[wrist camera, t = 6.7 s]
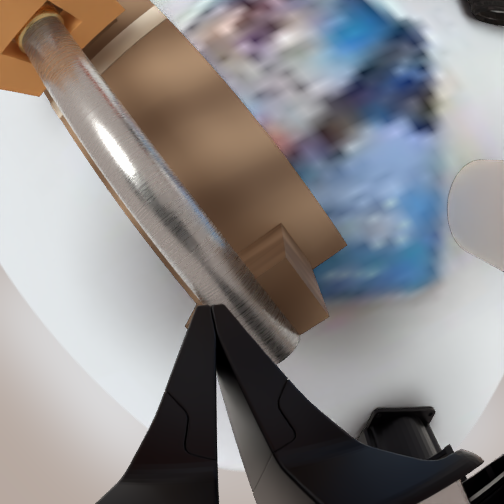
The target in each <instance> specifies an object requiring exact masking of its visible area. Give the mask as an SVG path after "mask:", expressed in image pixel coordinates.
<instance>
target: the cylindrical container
mask: <svg viewBox="0 0 504 504" xmlns="http://www.w3.org/2000/svg"><path fill="white" fill-rule="evenodd" d="M447 208H448V222H449V226H450V230H451V233H452V235H453V237H454V239H455V241H456V242H457V243H458V245H459V246H460V247H461V248H462V249H463V250H465V251H466V252H468V253H470V254H472V255H474V256H475V257H477V258H479V259H481V260H483V261H485V262H487V263H489V264H490V265H492V266H494V267H496V268H498V269H499V270H501V271H503V272H504V160H476V161H472V162H471V163H469V164H467V165H466V166H465V167H463V168H462V169H461V171H460V172H459V173H458V174H457V176H456V178H455V180H454V182H453V184H452V186H451V190H450V193H449V198H448V205H447Z"/></svg>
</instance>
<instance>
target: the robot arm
mask: <svg viewBox="0 0 504 504" xmlns="http://www.w3.org/2000/svg"><path fill="white" fill-rule="evenodd" d="M216 374H217V378H218V382H219V385H220V389H221V392H222V396H223V400H224V403H225V406H226V410H227V413H228V417H229V420H230V423H231V427H232V430H233V433H234V437H235V440H236V443H237V446H238V449H239V453H240V456H241V459H242V462H243V465H244V468H245V471H246V474H247V477H248V480H249V483H250V486H251V488H252V491H253V495H254V498H255V500H256V503H257V504H504V454H503V455H501V456H500V457H498V458H497V459H495V460H494V461H493V462H491V463H490V464H488V465H487V466H486V467H484V468H483V469H481V470H480V471H478V472H477V473H476V474H474V475H473V476H471V477H470V478H468V479H467V478H466V476H465V475H467V474H468V473H470V472H471V471H473V470H474V469H475V468H477V467H478V466H480V465H481V464H482V463H483V462H484V461H483V460H482V459H481V458H480V457H479V456H478V455H476V454H474V453H472V452H469V451H466V450H463V449H460V450H458V451H456V452H454V451H453V449H452V448H451V446H450V444H449V445H448V446H446V447H444V449H443V450H441V448H440V446H439V444H438V442H437V440H436V438H435V436H434V434H433V432H432V430H431V428H430V426H429V423H430V421H431V420H432V418H433V416H434V414H435V410H434V408H432V407H430V408H404V409H377V410H375V411H374V412H373V413H372V415H371V417H370V420H369V422H368V424H367V426H366V428H365V429H364V430H363V431H362V433H361V435H360V437H359V439H358V440H356V439H354V438H353V437H352V436H350V435H349V434H348V433H347V432H345V431H344V430H343V429H342V428H340V427H339V426H338V425H337V424H336V423H334V422H333V421H332V420H331V419H329V418H328V417H327V416H326V415H325V414H323V413H322V412H321V411H320V410H319V409H318V408H317V407H315V406H314V405H313V404H312V403H311V402H310V401H309V400H308V399H307V398H306V397H305V396H304V395H303V394H302V393H301V392H300V391H299V390H298V389H297V388H296V387H295V386H294V385H293V383H292V382H291V381H290V380H287V379H288V378H287V377H286V376H285V375H284V373H283V372H282V371H281V370H280V369H279V368H278V367H277V365H276V364H275V363H274V362H273V361H272V360H271V359H270V357H269V356H268V355H267V354H266V353H265V352H264V351H263V349H262V348H261V347H260V346H259V345H258V344H257V342H256V341H255V340H254V339H253V338H252V336H251V335H250V334H249V333H248V332H247V331H246V329H245V328H244V327H243V326H242V325H241V323H240V322H239V321H238V320H237V319H236V317H235V316H234V315H233V314H232V313H231V311H230V310H229V309H228V308H227V307H226V305H224V304H214V305H211V307H210V305H198V306H197V307H196V308H195V311H194V314H193V316H192V319H191V321H190V324H189V327H188V329H187V332H186V335H185V337H184V340H183V343H182V345H181V348H180V351H179V353H178V356H177V359H176V361H175V364H174V367H173V370H172V372H171V375H170V378H169V381H168V383H167V386H166V389H165V392H164V394H163V397H162V400H161V402H160V405H159V407H158V410H157V412H156V415H155V417H154V419H153V421H152V423H151V425H150V428H149V430H148V432H147V434H146V435H145V438H144V439H143V441H142V443H141V445H140V447H139V449H138V451H137V452H136V454H135V456H134V458H133V460H132V462H131V464H130V465H129V467H128V469H127V471H126V472H125V474H124V475H123V476H122V478H121V479H120V480H119V481H118V483H117V484H116V485H115V486H114V487H112V488H111V489H110V491H108V492H107V493H106V494H105V495H104V496H103V497H102V498H101V499H100V500H99V501H98V502H96V503H95V504H219V492H218V464H217V408H216ZM378 414H379V415H378Z"/></svg>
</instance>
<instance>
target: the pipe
mask: <svg viewBox="0 0 504 504" xmlns="http://www.w3.org/2000/svg"><path fill="white" fill-rule="evenodd" d="M14 39H15V41H16V43H17V44H18V46H19V48H20V50H21V51H22V52H23V53H25V54H27V56H28V58H29V60H30V61H31V63H32V65H33V66H34V68H35V70H36V72H37V73H38V75H39V77H40V78H41V80H42V82H43V83H44V85H45V87H46V88H47V90H48V92H49V93H50V95H51V97H52V98H53V100H54V101H55V103H56V105H57V106H58V108H59V109H60V111H61V113H62V114H63V116H64V117H65V119H66V120H67V122H68V123H69V125H70V127H71V128H72V130H73V131H74V133H75V134H76V136H77V137H78V139H79V140H80V142H81V143H82V145H83V146H84V148H85V149H86V151H87V152H88V154H89V155H90V157H91V158H92V159H93V161H94V162H95V164H96V165H97V167H98V168H99V170H100V171H101V172H102V174H103V175H104V177H105V178H106V180H107V181H108V182H109V184H110V185H111V187H112V188H113V189H114V191H115V192H116V193H117V195H118V196H119V198H120V199H121V200H122V202H123V203H124V204H125V206H126V207H127V209H128V210H129V211H130V213H131V214H132V215H133V217H134V218H135V219H136V221H137V222H138V223H139V225H140V226H141V227H142V229H143V230H144V231H145V233H146V234H147V235H148V236H149V238H150V239H151V240H152V242H153V243H154V244H155V246H156V247H157V248H158V249H159V251H160V252H161V253H162V254H163V256H164V257H165V258H166V260H167V261H168V262H169V263H170V265H171V266H172V267H173V268H174V270H175V271H176V272H177V273H178V275H179V276H180V277H181V278H182V279H183V281H184V282H185V283H186V284H187V286H188V287H189V288H190V289H191V290H192V292H193V293H194V294H195V295H196V296H197V298H198V299H199V300H200V301H201V302H202V304H203V305H210V307H211V305H214V304H224V305H226V307H227V308H228V309H229V310H230V311H231V313H232V314H233V315H234V316H235V317H236V319H237V320H238V321H239V322H240V323H241V325H242V326H243V327H244V328H245V329H246V331H247V332H248V333H249V334H250V335H251V336H252V338H253V339H254V340H255V341H256V342H257V344H258V345H259V346H260V347H261V348H262V349H263V351H264V352H265V353H266V354H267V355H268V356H269V357H270V359H271V360H272V361H273V362H274V363H275V364H278V363H280V362H281V361H283V360H284V359H285V358H287V357H288V356H289V355H290V354H291V353H292V352H293V350H294V349H295V348H296V346H297V345H298V343H299V340H300V335H299V333H298V332H297V331H296V330H295V328H294V327H293V326H292V325H291V323H290V322H289V321H288V319H287V318H286V317H285V316H284V314H283V313H282V312H281V311H280V309H279V308H278V307H277V306H276V304H275V303H274V302H273V301H272V299H271V298H270V297H269V295H268V294H267V293H266V292H265V290H264V289H263V288H262V287H261V285H260V284H259V283H258V282H257V280H256V279H255V276H254V275H253V274H252V272H251V271H250V270H249V269H248V267H247V266H246V265H245V263H244V262H243V261H242V260H241V258H240V257H239V256H238V255H237V253H236V252H235V251H234V249H233V248H232V247H231V246H230V244H229V243H228V242H227V240H226V239H225V238H224V237H223V235H222V234H221V233H220V231H219V230H218V229H217V228H216V226H215V225H214V224H213V222H212V221H211V220H210V218H209V217H208V216H207V215H206V213H205V212H204V211H203V209H202V208H201V207H200V206H199V204H198V203H197V202H196V200H195V199H194V198H193V196H192V195H191V194H190V193H189V191H188V190H187V189H186V187H185V186H184V185H183V183H182V182H181V181H180V180H179V178H178V177H177V176H176V174H175V173H174V172H173V170H172V169H171V168H170V166H169V165H168V164H167V162H166V161H165V160H164V159H163V157H162V156H161V155H160V153H159V152H158V151H157V149H156V148H155V147H154V145H153V144H152V143H151V141H150V140H149V139H148V137H147V136H146V135H145V134H144V132H143V131H142V130H141V128H140V127H139V126H138V124H137V123H136V122H135V120H134V119H133V118H132V116H131V115H130V114H129V112H128V111H127V110H126V108H125V107H124V106H123V104H122V103H121V102H120V100H119V99H118V98H117V96H116V95H115V94H114V92H113V91H112V90H111V88H110V87H109V86H108V84H107V83H106V82H105V80H104V79H103V78H102V76H101V75H100V74H99V72H98V71H97V69H96V68H95V67H94V65H93V64H92V63H91V61H90V60H89V59H88V57H87V56H86V55H85V53H84V52H83V51H82V49H81V48H80V46H79V45H78V44H77V42H76V41H75V40H74V38H73V37H72V36H71V34H70V33H69V31H68V30H67V29H66V27H65V26H64V20H63V18H62V16H61V15H60V14H59V12H58V11H57V10H56V8H55V7H54V6H53V4H52V3H51V2H50V1H48V0H47V1H46V2H45V3H44V4H43V5H42V6H41V7H40V8H39V9H38V10H37V11H36V12H35V14H34V15H33V16H32V17H31V18H30V19H29V20H28V21H27V23H26V24H25V25H24V26H23V27H22V28H21V30H20V31H19V32H18V33H17V34H16V36H15V37H14Z"/></svg>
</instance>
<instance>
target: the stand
mask: <svg viewBox="0 0 504 504" xmlns="http://www.w3.org/2000/svg"><path fill="white" fill-rule="evenodd" d="M117 1H118V2H119V4H120V5H121V6H122V7H123V8H124V9H125V11H124V12H123V13H121V14H120V15H119V16H118V17H117V18H115V19H114V20H113V21H112V22H111V23H110V24H109V25H107V26H106V27H105V28H104V29H103V30H102V31H101V32H100V33H99V34H97V35H96V36H95V37H94V38H93V39H92V40H91V41H90V42H89V43H88V44H87V45H86V46H85V47H84V48H83V49H82V51H83V52H84V53H85V55H86V56H87V57H88V59H89V60H90V61H91V63H92V64H93V65H94V67H95V68H96V69H97V71H98V72H99V74H100V75H101V76H102V78H103V79H104V80H105V82H106V83H107V84H108V86H109V87H110V88H111V90H112V91H113V92H114V94H115V95H116V96H117V98H118V99H119V100H120V102H121V103H122V104H123V106H124V107H125V108H126V110H127V111H128V112H129V114H130V115H131V116H132V118H133V119H134V120H135V122H136V123H137V124H138V126H139V127H140V128H141V130H142V131H143V132H144V134H145V135H146V136H147V137H148V139H149V140H150V141H151V143H152V144H153V145H154V147H155V148H156V149H157V151H158V152H159V153H160V155H161V156H162V157H163V159H164V160H165V161H166V162H167V164H168V165H169V166H170V168H171V169H172V170H173V172H174V173H175V174H176V176H177V177H178V178H179V180H180V181H181V182H182V183H183V185H184V186H185V187H186V189H187V190H188V191H189V193H190V194H191V195H192V196H193V198H194V199H195V200H196V202H197V203H198V204H199V206H200V207H201V208H202V209H203V211H204V212H205V213H206V215H207V216H208V217H209V218H210V220H211V221H212V222H213V224H214V225H215V226H216V228H217V229H218V230H219V231H220V233H221V234H222V235H223V237H224V238H225V239H226V240H227V242H228V243H229V244H230V246H231V247H232V248H233V249H234V251H235V252H236V253H237V255H238V256H239V257H240V258H241V260H242V261H243V262H244V263H245V265H246V266H247V267H248V269H249V270H250V271H251V272H252V274H253V275H254V276H255V279H256V280H257V282H258V283H259V284H260V285H261V287H262V288H263V289H264V290H265V292H266V293H267V294H268V295H269V297H270V298H271V299H272V301H273V302H274V303H275V304H276V306H277V307H278V308H279V309H280V311H281V312H282V313H283V314H284V316H285V317H286V318H287V319H288V321H289V322H290V323H291V325H292V326H293V327H294V328H295V330H296V331H297V332H298V333H299V335H301V334H303V333H304V332H306V331H308V330H309V329H311V328H312V327H314V326H315V325H317V324H319V323H320V322H322V321H323V320H325V319H326V318H328V317H329V314H328V311H327V308H326V306H325V303H324V300H323V297H322V294H321V292H320V289H319V286H318V283H317V281H316V278H315V275H314V272H313V269H314V268H316V267H317V266H318V265H320V264H321V263H323V262H324V261H326V260H327V259H328V258H330V257H331V256H333V255H334V254H336V253H337V252H338V251H340V250H341V249H343V248H344V247H345V246H347V244H346V242H345V241H344V239H343V238H342V236H341V235H340V233H339V232H338V230H337V229H336V227H335V226H334V224H333V223H332V221H331V220H330V219H329V217H328V216H327V214H326V213H325V211H324V210H323V208H322V207H321V206H320V204H319V203H318V201H317V200H316V198H315V197H314V196H313V194H312V193H311V191H310V190H309V189H308V187H307V186H306V184H305V183H304V182H303V180H302V179H301V178H300V176H299V175H298V173H297V172H296V171H295V169H294V168H293V167H292V165H291V164H290V163H289V161H288V160H287V159H286V157H285V156H284V155H283V153H282V152H281V151H280V149H279V148H278V147H277V146H276V144H275V143H274V142H273V140H272V139H271V138H270V137H269V135H268V134H267V133H266V131H265V130H264V129H263V128H262V126H261V125H260V124H259V123H258V121H257V120H256V119H255V118H254V116H253V115H252V114H251V113H250V111H249V110H248V109H247V108H246V106H245V105H244V104H243V103H242V102H241V100H240V99H239V98H238V97H237V96H236V94H235V93H234V92H233V91H232V90H231V88H230V87H229V86H228V85H227V84H226V83H225V81H224V80H223V79H222V78H221V77H220V76H219V74H218V73H217V72H216V71H215V70H214V69H213V67H212V66H211V65H210V64H209V63H208V62H207V61H206V60H205V58H204V57H203V56H202V55H201V54H200V53H199V52H198V51H197V50H196V48H195V47H194V46H193V45H192V44H191V43H190V42H189V41H188V40H187V39H186V38H185V36H184V35H183V34H182V33H181V32H180V31H179V30H178V29H177V28H176V27H175V26H174V25H173V24H172V23H171V22H170V21H169V20H168V19H167V17H166V16H165V15H164V14H163V13H162V12H161V11H160V10H159V9H158V8H157V7H156V6H155V5H154V4H153V3H152V2H151V1H150V0H117ZM52 4H53V3H52ZM53 6H54V7H55V8H56V10H57V11H58V12H59V14H60V13H61V12H62V11H63V9H61V8H60V7H58V6H57V5H55V4H53ZM12 41H14V42H16V41H15V39H14V38H13V39H12ZM44 93H45V95H46V96H47V98H48V100H49V101H50V103H51V106H52V108H53V109H54V111H55V112H56V114H57V116H58V117H59V118H60V119H61V121H62V122H63V124H64V125H65V127H66V128H67V130H68V131H69V133H70V135H71V136H72V138H73V139H74V141H75V142H76V144H77V145H78V147H79V148H80V150H81V151H82V153H83V154H84V156H85V157H86V159H87V160H88V162H89V163H90V165H91V166H92V167H93V169H94V170H95V172H96V173H97V175H98V176H99V178H100V179H101V180H102V182H103V183H104V185H105V186H106V188H107V189H108V190H109V192H110V193H111V195H112V196H113V197H114V199H115V200H116V201H117V203H118V204H119V206H120V207H121V208H122V210H123V211H124V212H125V214H126V215H127V216H128V218H129V219H130V220H131V222H132V223H133V224H134V226H135V227H136V228H137V230H138V231H139V232H140V234H141V235H142V236H143V238H144V239H145V240H146V242H147V243H148V244H149V245H150V247H151V248H152V249H153V251H154V252H155V253H156V254H157V256H158V257H159V258H160V260H161V261H162V262H163V263H164V265H165V266H166V267H167V268H168V270H169V271H170V272H171V273H172V275H173V276H174V277H175V278H176V279H177V281H178V282H179V283H180V284H181V286H182V287H183V288H184V289H185V290H186V292H187V293H188V294H189V295H190V297H191V298H192V299H193V300H194V301H195V303H196V304H197V305H196V307H197V306H198V305H203V304H202V302H201V301H200V300H199V299H198V298H197V296H196V295H195V294H194V293H193V292H192V290H191V289H190V288H189V287H188V286H187V284H186V283H185V282H184V281H183V279H182V278H181V277H180V276H179V275H178V273H177V272H176V271H175V270H174V268H173V267H172V266H171V265H170V263H169V262H168V261H167V260H166V258H165V257H164V256H163V254H162V253H161V252H160V251H159V249H158V248H157V247H156V246H155V244H154V243H153V242H152V240H151V239H150V238H149V236H148V235H147V234H146V233H145V231H144V230H143V229H142V227H141V226H140V225H139V223H138V222H137V221H136V219H135V218H134V217H133V215H132V214H131V213H130V211H129V210H128V209H127V207H126V206H125V204H124V203H123V202H122V200H121V199H120V198H119V196H118V195H117V193H116V192H115V191H114V189H113V188H112V187H111V185H110V184H109V182H108V181H107V180H106V178H105V177H104V175H103V174H102V172H101V171H100V170H99V168H98V167H97V165H96V164H95V162H94V161H93V159H92V158H91V157H90V155H89V154H88V152H87V151H86V149H85V148H84V146H83V145H82V143H81V142H80V140H79V139H78V137H77V136H76V134H75V133H74V131H73V130H72V128H71V127H70V125H69V123H68V122H67V120H66V119H65V117H64V116H63V114H62V113H61V111H60V109H59V108H58V106H57V105H56V103H55V101H54V100H53V98H52V97H51V95H50V93H49V92H48V90H47V88H46V89H45V91H44ZM196 307H195V308H196ZM195 308H194V310H193V312H192V314H191V316H190V318H189V320H188V321H187V323H186V325H185V327H186V328H187V329H188V327H189V324H190V321H191V319H192V316H193V314H194V311H195Z"/></svg>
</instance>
